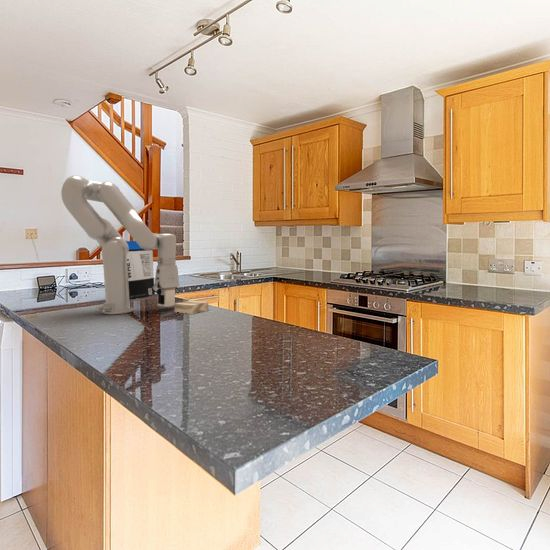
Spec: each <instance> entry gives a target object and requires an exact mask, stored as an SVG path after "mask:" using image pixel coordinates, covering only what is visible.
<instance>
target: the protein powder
mask: <svg viewBox="0 0 550 550" xmlns="http://www.w3.org/2000/svg"><path fill="white" fill-rule="evenodd" d="M125 241H126V242H127V244H128V247H129V252H128V254H127V255H126V257H127V268H128V283H129V300H137V299H136V298H138V299H143V298H149V297H151V296H153V295H156V294H155V293H156V291H155V290H154V289H153V286H154V284H155V276H154V255H153V253H154V251H153V250H154V249H152V250H144V249H142V248H141V247H140V246H139V245H138V244H137V242H136V241H135V240H125Z"/></svg>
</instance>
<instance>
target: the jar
mask: <svg viewBox="0 0 550 550" xmlns="http://www.w3.org/2000/svg"><path fill="white" fill-rule="evenodd" d="M160 290H162V289H160ZM175 292H176V291H175V288H166V289H164V294H163V295H164V304H158V303H157V306H159V307H165V308H166V307H173V306H174V304H175V303H176V300H175V299H176V293H175Z"/></svg>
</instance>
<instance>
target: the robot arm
mask: <svg viewBox="0 0 550 550" xmlns="http://www.w3.org/2000/svg"><path fill="white" fill-rule="evenodd" d="M60 193H61V194H60V195H61V200H62V203H63V205H64V206H65V208H66V209H67V211H68V212H69V214H71V216H72V217H73V218H74V220H75V221H76V222H77V224H78V225H79V226H80V227H81V228H82V229H83V231H84V232H85V234H86V235H87V236H88V237H89V238H90V239H92V240H95V241H96V242H97V243H98V244H99V245H100V246H101V257H102V258H101V259H102V267H103V279H104V295H105V296H104V297H105V302H103V304H102V305H97V306H95V310H96V311H97V312H99V311H102V314H103V315H122V314H128V313H132V312H134V309H135V308H134V307H133V306H132V307H131V304H130V302H131V301H130V299H129V283H128V268H127V257H126V255H127V254H128V252H129V247H128V244H127V242H126V241H127V240H125V239H124V237H123V236H122V235H121V234H120V232H119V231H118V230H117V229H116V228H115V227H114V226H113V224H112V223H111V222H110V221H109V220H107V219H105V218H103V217H102V216H101V215H100V214H99V213H98V212H97V211H96V209H95V208H94V207H93V206H92V205H91V203H90V202H89V201H92V202H96V203H97V202H99V203H103V204H104V205H105V206H106V207H107V209H108V211H110V213H112V214H113V216H114V218H116V220H117V221H118V222H119V223H120V225H121V226H122V227H123V228H124V229H125V230H126V232H127V233H128V234H129V235H130V236H131V238H132V239H133V241H136V242H137V244H138V245H139V246H140V247H141V248H142V249H144V250H157V260H156V263H157V265H156V268H155V269H156V270H155V276H154V286H153V289H154V291H155V293H156V294H157V305H158V304H164V295H163V294H164V289H166V288H175V294H176V291H177V290H178V288H179V287H180V284H179V282H180V281H179V271H178V269H179V268H178V266H177V264H176V263H177V262H176V256H177V249H176V248H177V236H176V235H175V234H173V233H154V232H152V231H151V230H150V229H149V227H148V226H147V224H146V223H145V222H144V221H143V220H142V219H141V217H140V215H139V214H138V210H136V208H135V207H134V206H133V204H131V202H130V201H129V199H128V198H127V197H126V196H125V195H124V193H123V192H122V191H121V190H120V188H119V187H118V185H116V184H115V183H113V182H111V181H103V182H100V181H94V180H89V179H86V178H85V177H83V176H81V175H71V176H69V177H67V178H66V179H65V181H64V183H62V187H61V192H60ZM160 289H162V290H160Z"/></svg>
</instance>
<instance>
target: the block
mask: <svg viewBox="0 0 550 550" xmlns="http://www.w3.org/2000/svg"><path fill="white" fill-rule="evenodd" d="M203 311H204V312H207V311H209V301H202V300H185V301H182V302H180V301H179V302H175V304H174V313H177V312H179V314H185V313H187V315H195V314H198V312H199V313H203ZM194 313H195V314H194Z"/></svg>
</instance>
